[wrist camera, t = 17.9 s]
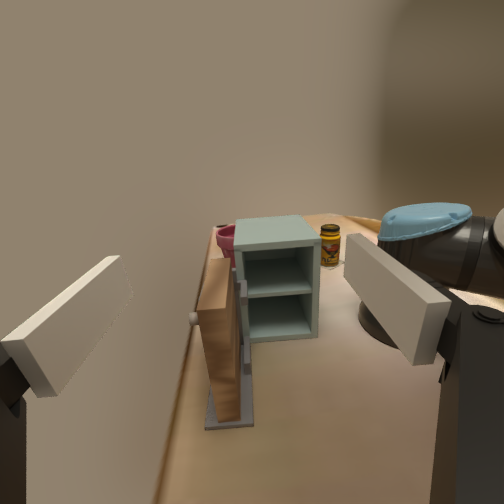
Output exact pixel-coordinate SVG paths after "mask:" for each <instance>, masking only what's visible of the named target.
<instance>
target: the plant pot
mask: <svg viewBox="0 0 504 504" xmlns="http://www.w3.org/2000/svg"><path fill="white" fill-rule="evenodd" d="M235 226H236V225H230V226H226V227H223V228H221V229H219V230H218V231H217V232H216V239H217V245H218V246H219V247H220V248H221V249H222V252H223V255H224V258H231V266H232V268H236V264H235V255H234V246H233V245H234V235H235Z"/></svg>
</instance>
